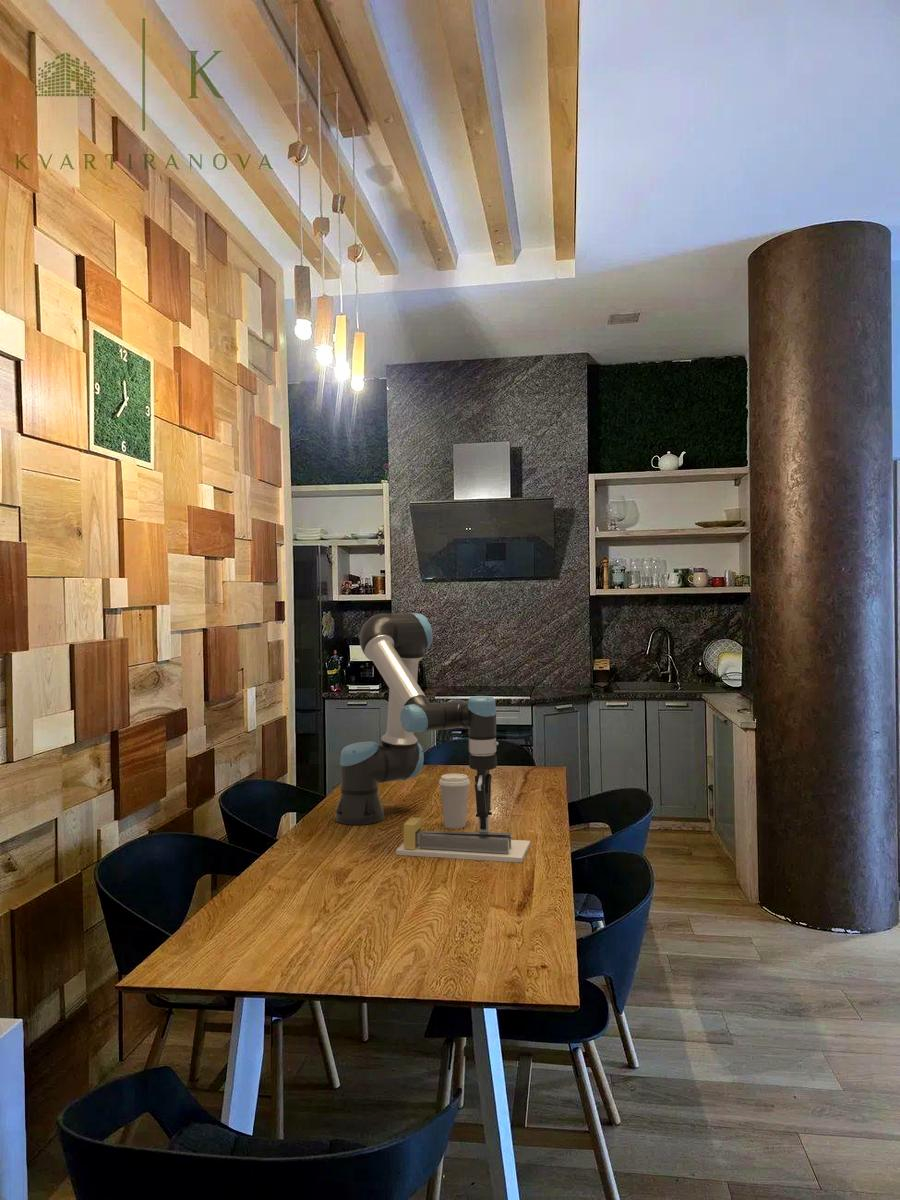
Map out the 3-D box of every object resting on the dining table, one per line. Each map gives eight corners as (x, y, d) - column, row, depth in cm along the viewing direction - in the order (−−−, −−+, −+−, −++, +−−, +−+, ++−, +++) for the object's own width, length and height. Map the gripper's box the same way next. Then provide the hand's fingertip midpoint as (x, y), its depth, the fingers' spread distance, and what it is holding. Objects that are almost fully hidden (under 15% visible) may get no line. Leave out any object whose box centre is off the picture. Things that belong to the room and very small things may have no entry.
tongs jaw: (422, 845, 227) (422, 832, 227) (423, 843, 229) (423, 830, 229) (510, 848, 224) (510, 835, 225) (511, 845, 226) (511, 832, 226)
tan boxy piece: (403, 848, 225) (403, 824, 225) (411, 840, 232) (411, 817, 232) (414, 849, 224) (414, 825, 224) (422, 841, 231) (421, 817, 231)
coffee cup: (433, 827, 251) (432, 777, 251) (448, 820, 260) (447, 771, 260) (461, 831, 247) (461, 780, 247) (476, 823, 255) (475, 774, 255)
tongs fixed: (405, 847, 226) (405, 834, 226) (409, 842, 230) (409, 829, 230) (507, 853, 220) (507, 840, 220) (510, 848, 224) (510, 835, 224)
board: (395, 854, 224) (395, 850, 224) (412, 838, 240) (412, 834, 240) (521, 862, 217) (521, 858, 217) (530, 845, 232) (530, 840, 232)
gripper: (492, 758, 221) (493, 847, 221) (500, 749, 234) (501, 834, 234) (464, 757, 223) (466, 846, 223) (473, 749, 235) (475, 832, 235)
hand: (484, 840), depth 228 cm, fingers closed
